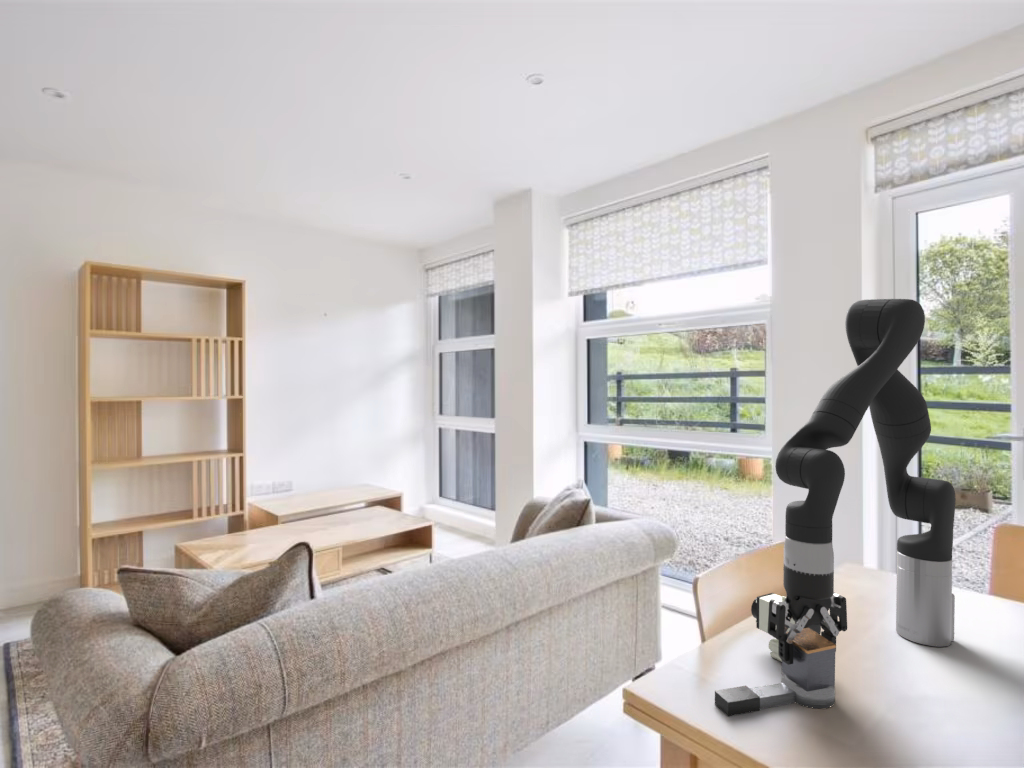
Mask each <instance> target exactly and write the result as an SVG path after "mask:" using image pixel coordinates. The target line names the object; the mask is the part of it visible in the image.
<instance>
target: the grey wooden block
mask: <svg viewBox="0 0 1024 768" xmlns="http://www.w3.org/2000/svg"><path fill="white" fill-rule="evenodd" d="M786 634H788V632H786ZM792 643H793V664H789V665H788V664H787V663H785V662H784V661H782V662H781V673H782V672H783V673H784V674H785V675H786V676H788V677H789V678H790V679H792V680H793V681H794V682H795V683H797V684H798V685H799V686H800V687H802V688H803V689H804V690H806V691H807V692H808V691H812V690H816V689H820V688H825V687H829V686H833V685H836V683H835V682H836V652H835V648H836V649H837V644H836V645H835V644H834V643H832V642H831V641H829V640H827V639H826V638H824V637H823V636H821V633H820V634H818V633H816V632H815V631H813V630H812V629H810V628H805V629H803V630H802V631H801V633H797V635H796V636H795V638H794V640H793V642H792Z"/></svg>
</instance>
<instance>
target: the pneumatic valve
mask: <svg viewBox="0 0 1024 768" xmlns="http://www.w3.org/2000/svg"><path fill="white" fill-rule="evenodd" d="M772 599H773V600H775V601H777V602H784V601H785V599H786V596H784V595H782V596H781V595H779V594H776V593H774V592H769V593H766V594H762V595H758V596H756V598H755V599H754V600H753V601H752V603H751V608H750V611H751V615H752V617H753V618H754V619H755V623H756V625H755V626H756V627H755V628H756V629H759V631H762V632H764V633H766V634H768V615H769V602H770V600H772ZM790 622H791V623H793V624H796V623H797V622H795V621H794V620H793V619H792V618H791V620H790ZM776 627H777V626H776ZM805 628H810V629H812V630H813V631H815V632H816V633H818V634H820V635H821V632H822V628H821V626H820V625H811V626H808V627H804V628H803V629H805ZM789 630H790V628H788V630H787V631H786V632H789ZM768 649H769V651H770V653H769V655H770V657H772V659H775V660H776V661H779V662H781V663H782V660H781V658H780V657H779V655H778V649H779V640H777V639H776V638H770V641H768Z"/></svg>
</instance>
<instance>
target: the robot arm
mask: <svg viewBox="0 0 1024 768" xmlns="http://www.w3.org/2000/svg"><path fill="white" fill-rule="evenodd" d="M925 323H926V316H925V310H924V308H923V306H922V305H921V303H920V302H918V300H915V299H908V298H881V299H880V298H877V299H875V298H874V299H862V300H857V301H854V303H852V304H851V305H850V306H849V308H848V309H847V312H846V315H845V326H844V327H845V333H846V337H847V338H846V339H847V341H848V344H849V347H850V350H851V353H852V355H853V358H854V361H855V363H856V367H855V368H854V369H852V370H850V371H848V372H847V373H846V374H844V376H841V377H840V378H839V379H837V380H836V381H835V382H834V383H833V384H831V385H830V386H829V387H828V388H827V390H826V391H825V392H824V393H823V395H822V396H821V398H820V400H819V401H818V403H817V405H816V407H815V408H814V410H813V412H812V414H811V416H810V418H809V419H808V421H807V422H806V423H805V424H803V425H802V426H801V427H800V428H799V429H798V430H797V431H796V432H795V433H794V434H793V435H792V436H791V437H790V438H789V439H788V440H787V441H786V442H785V443H784V445H783V446H782V447H781V449H780V450H779V452H778V453H777V456H776V460H775V472H776V475H777V477H778V479H779V480H780V481H781V482H782V483H784V484H786V485H789V486H792V487H797V488H802V489H806V490H808V492H807V495H806V498H805V500H795V501H791V502H789V503H788V504H787V505H786V508H785V525H784V527H785V533H784V534H785V535H784V536H785V537H784V543H783V544H784V545H783V577H782V578H783V580H782V581H783V587H784V590H785V593H786V596H785V597H786V599H785V601H784V602H777V601H775V600H773V599H772V600H770V602H769V615H768V633H767V634H768V635H769V636H771V637H773V639H777V640H779V649H778V655H779V657H780V658H781V660H782V661H784V662H785V663H787V664H788V665H789V664H793V643H792V642H793V640H794V638H795V636H796V635H797V633H801V631H802V630H803V628H804V627H808V626H811V625H820V626H821V633H820V635H821V636H823V637H824V638H826V639H827V640H829V641H831V642H832V643H834V644H835V645H836V646H837V636H839V635H840V632H841V631H842V632H846V631H847V630H848V610H847V608H848V607H847V598H846V597H845V596H842V595H840V594H838V593H836V592H834V591H835V590H834V589H835V588H834V587H835V586H834V582H835V580H834V577H835V570H834V569H835V555H834V548H833V547H834V546H833V518H834V517H833V516H834V513H835V510H836V507H837V504H838V501H839V498H840V494H841V491H842V489H843V485H844V483H845V478H846V477H845V476H846V471H845V470H846V469H845V465H844V463H843V461H842V459H841V457H840V456H839V455H838V454H837V453H836V452H834V451H833V450H830V449H832V448H841V447H844V446H846V445H848V444H849V443H850V442H851V440H852V439H853V437H854V435H855V433H856V431H857V430H858V428H859V425H860V424H861V422H862V420H863V418H864V416H865V414H866V412H867V411H868V410H869V412H870V417H871V421H872V425H873V429H874V432H875V433H874V434H875V435H876V439H877V443H878V447H879V449H880V455H881V460H882V465H883V471H884V478H885V485H886V493H887V499H888V505H889V508H890V510H891V512H892V513H893V515H894V516H896V517H897V518H900V519H902V520H903V519H904V520H909V521H913V522H920V523H923V524H924V523H925V524H930V529H929V530H928V531H926V532H922V533H916V534H913V533H912V534H907V535H906V534H905V535H902V536H899V537H898V538H897V541H896V601H895V602H896V603H895V605H896V606H895V607H896V608H895V609H896V610H895V631H896V633H897V634H898V635H899V636H901V637H902V638H904V639H906V640H909V641H911V642H914V643H917V644H920V645H924V646H930V647H938V648H942V647H948V646H950V645H951V644H952V641H955V614H956V613H955V602H956V601H955V599H956V597H955V594H954V593H953V546H954V525H955V515H956V514H955V512H956V501H957V500H956V492H955V491H956V490H955V488H954V485H953V484H952V483H951V482H949V481H947V480H943V479H938V478H937V479H935V478H928V477H921V476H920V477H919V476H911V475H909V473H908V470H907V469H908V466H909V464H910V463H911V461H912V460H913V458H914V457H915V456H916V455H917V453H919V451H920V450H921V449H922V448H923V446H925V444H926V442H927V441H928V439H929V438H930V435H931V432H932V426H931V425H932V424H931V420H930V415H929V414H930V413H929V407H928V404H927V401H926V399H925V397H924V396H923V394H922V393H921V392H920V390H919V389H918V388H917V387H916V386H915V385H914V384H913V383H912V382H911V381H910V380H909V379H908V378H907V377H906V376H905V375H904V374H903V373H902V372H901V371H900V370H899V367H900V366H901V365H902V364H903V362H904V361H905V360H906V358H908V357H909V355H910V354H911V353H912V351H913V349H914V348H915V347H916V345H917V344H918V342H919V340H920V339H921V336H922V334H923V332H924V329H925ZM791 618H792V619H793V620H794V621H795V622H797V623H796V624H793V623H791V622H790V620H791ZM776 626H777V627H776ZM788 628H790V630H789V632H788V634H786V631H787V630H788ZM835 653H837V647H836V648H835Z"/></svg>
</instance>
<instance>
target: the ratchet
mask: <svg viewBox="0 0 1024 768" xmlns="http://www.w3.org/2000/svg"><path fill="white" fill-rule="evenodd" d="M780 677H781V678H780V681H781V682H779V683H773V684H766V685H762V686H757V687H756V686H755V687H748V686H747V685H740V686H736V687H729V688H722V689H718V690H714V705H715V706H716V707H717V708H719V710H720V711H722V712H723V713H724V714H725V715H726V716H727V717H733V716H737V715H743V714H749V713H754V712H759V711H761V710H763V709H764V710H765V709H768V708H773V707H778V706H785V705H789V703H791V704H795V703H794V702H796V704H797V703H798V705H800V706H803V705H804V706H803V707H806V706H808V707H807V708H810V707H813V708H812V709H816V708H826V709H829V708H828V707H830V706H832V705H833V704H834V705H835V703H836V702H835V701H836V699H835V698H836V693H835V691H836V686H835V685H836V684H835V685H833V686H829V687H825V688H820V689H816V690H812V691H808V692H807V691H806V690H804V689H803V688H802V687H800V686H799V685H798V684H797V683H795V682H794V681H793V680H792V679H790V678H789V677H788V676H786V675H785V674H784V673H783V672H782V671H781V675H780ZM834 702H835V703H834ZM834 705H833V706H834ZM833 706H832V707H833ZM830 708H831V707H830Z"/></svg>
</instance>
